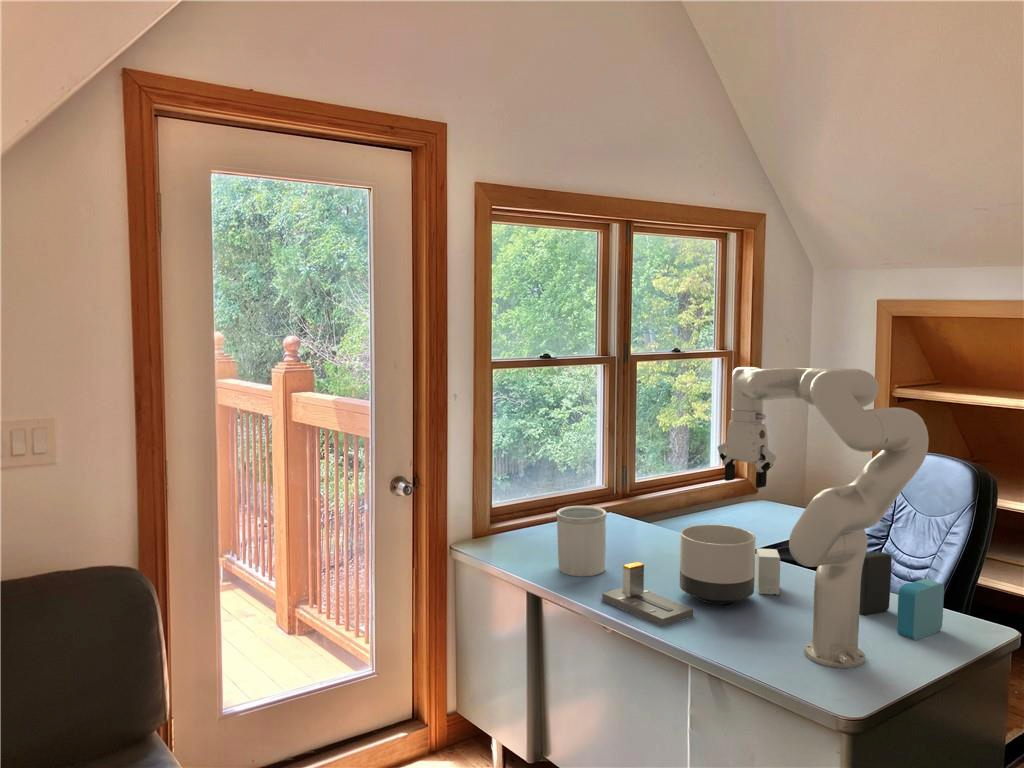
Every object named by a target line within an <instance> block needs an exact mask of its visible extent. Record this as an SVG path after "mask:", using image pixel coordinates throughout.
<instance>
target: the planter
mask: <svg viewBox="0 0 1024 768" xmlns="http://www.w3.org/2000/svg"><path fill="white" fill-rule="evenodd" d="M679 539H680V542H679V543H680V545H679V549H680V550H679V553H680V554H679V588H680V589H681V590H682V591H683V592H684V593H686V594H688V595H690V596H693V597H694V598H696V599H698V600H700V601H702V602H705V603H708V604H712V605H726V604H727V605H728V604H732V603H735V602H738V601H741V600H743V599H747V598H749V597H751V596H752V595H753V594H754V592H755V577H756V566H755V565H756V534H754V533H753V532H751V531H749V530H747V529H745V528H741V527H738V526H733V525H732V526H731V525H724V524H696V525H691V526H688V527H685V528H683V529H681V530H680V538H679Z"/></svg>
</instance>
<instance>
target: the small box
mask: <svg viewBox="0 0 1024 768" xmlns="http://www.w3.org/2000/svg"><path fill="white" fill-rule="evenodd" d="M755 565H756V566H755V585H756V590H757V592H758V594H759V595H760V594H761V595H773V594H776V595H778V596H779V595H780V590H781V589H780V583H781V581H780V580H781V556H780V554H779V552H778V549H773V548H758V547H757V548H756V553H755ZM776 595H775V596H776Z"/></svg>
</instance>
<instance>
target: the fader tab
mask: <svg viewBox="0 0 1024 768" xmlns="http://www.w3.org/2000/svg"><path fill="white" fill-rule="evenodd" d="M622 566H623V567H622V569H623V570H622V571H623V573H622V577H623V578H622V588H623V594H624V595H626V596H629V597H631V596H635V595H638V594H641V593H644V590H645V589H644V588H645V587H644V586H645V585H644V584H645V583H644V579H645V578H644V577H645V573H644V572H645V565H644V563H642V562H639V561H635V562H632V563H631V562H630V563H627V564H623V565H622Z"/></svg>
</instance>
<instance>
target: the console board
mask: <svg viewBox="0 0 1024 768" xmlns="http://www.w3.org/2000/svg"><path fill="white" fill-rule="evenodd" d="M601 596H602V597H601V598H602V599H601V601H602V600H604V601H603V602H605V603H607V602H608V604H609V603H610V604H609V605H611V604H613V605H612V606H614V605H615V606H614V607H616V606H617V608H618V607H620V608H619V609H621V608H622V609H621V610H623V609H624V610H623V611H625V610H627V611H629V612H628V613H630V612H632V613H633V615H634V614H636V615H635V616H637V615H638V616H637V617H639V616H640V617H639V618H641V617H642V618H641V619H643V618H644V619H643V620H647V621H648V622H651V623H653V624H656V625H658V626H660V627H662V628H663V627H666V625H667V626H670V625H672V623H673V624H676V623H678V621H679V622H682V621H685V620H688V619H691V618H694V612H695V611H694V608H692V607H690V606H687V605H684V604H682V603H679V602H676V601H675V600H672V599H669V598H667V597H664V596H661V595H659V594H656V593H654V592H652V591H650V590H647V589H644V593H641V594H638V595H635V596H631V597H629V596H626V595H624V594H623V587H620V588H616V589H613V590H609V591H605V592H602V595H601ZM627 611H626V612H627ZM632 613H631V614H632ZM687 618H688V619H687ZM684 619H685V620H684ZM675 622H676V623H675ZM669 624H670V625H669Z"/></svg>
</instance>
